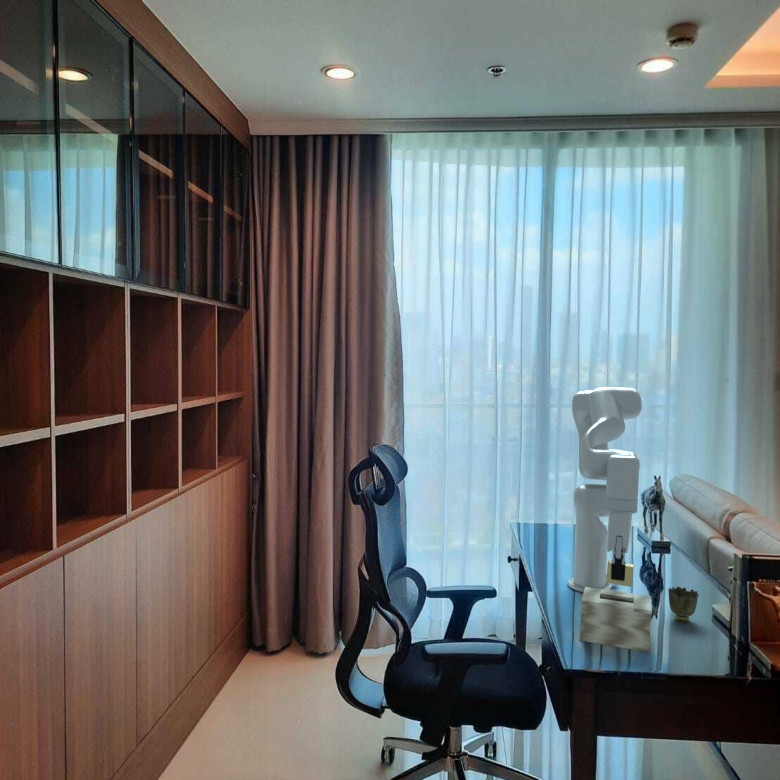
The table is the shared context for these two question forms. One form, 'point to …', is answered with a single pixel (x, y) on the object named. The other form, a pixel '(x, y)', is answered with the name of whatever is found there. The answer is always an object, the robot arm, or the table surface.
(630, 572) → the yellow flat block
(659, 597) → the table surface
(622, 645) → the box
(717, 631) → the table surface
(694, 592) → the cup
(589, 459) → the robot arm
